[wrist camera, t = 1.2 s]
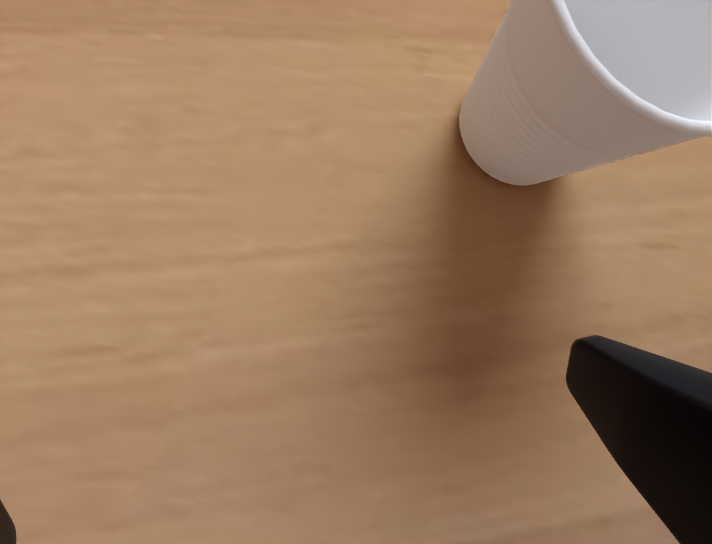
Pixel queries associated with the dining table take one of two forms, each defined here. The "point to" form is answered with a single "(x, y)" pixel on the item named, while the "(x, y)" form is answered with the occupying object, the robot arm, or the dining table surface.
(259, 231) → the dining table surface
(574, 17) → the cup
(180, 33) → the dining table surface
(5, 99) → the dining table surface
